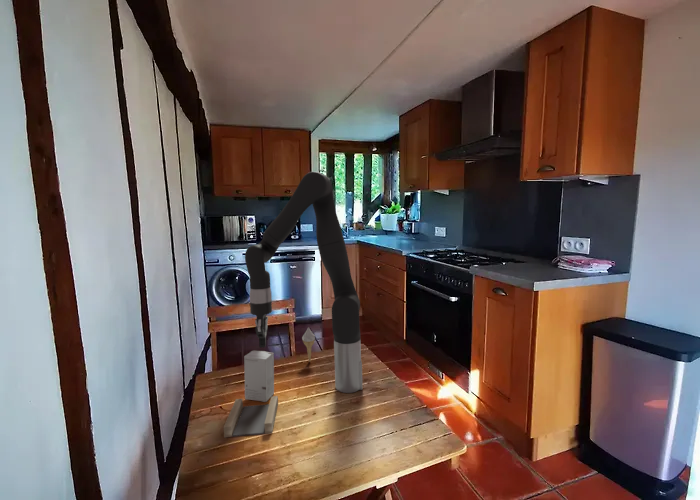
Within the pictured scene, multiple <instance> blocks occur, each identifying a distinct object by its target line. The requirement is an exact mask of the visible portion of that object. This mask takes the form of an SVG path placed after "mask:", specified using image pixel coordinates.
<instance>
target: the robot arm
mask: <svg viewBox="0 0 700 500" xmlns="http://www.w3.org/2000/svg"><path fill="white" fill-rule="evenodd" d="M333 191H334V190H333V185H332V181H331V180H330V178H329V177H328V176H327V175H325V174H323V173H321V172H319V171H310V172H309V171H308V173H306V174H305V175H304V176H303V177H302V178H301V180H300V181H299V184H298V185H297V187H296V188H295V191H294V192H293V194H292V195H291V197H290V199H289V201H287V203H286V205H284V207H283V209H281V211H280V213H279V214H278V215H277V216H276V217H275V218H274V219H273V220H272V222H271V223H270V224H269V226H268V227H267V228H266V229H265V230H264V232H263V236H262V237H263V238H262V240H261V241H260V242H259V243H257V244H253V245H250V246H248V247H247V249H246V250H245V253H244V262H245V265H246V270H247V272H248V276H249V308H250V309H249V311H250V314H251V315H253V316H256V318H255V319H254V320H255V321H254V322H255V328H254V330H255V333H256V337H257V338H258V345H259V348H261V349H263V348H266V345H267V333H268V321H269V316H267V315H269V314H272V312H273V303H272V302H273V300H272V299H273V298H272V297H273V296H272V289H271V276H270V272H269V271H267V270H266V266H265V265H266V264H267V262H269V261H270V260H271V259H272V258H273V257H274V255H275V254H276V252H277V250H279V247H280V246H281V244H282V243H284V241H286V239H287V238H288V237H289V235H290V234H291V233H292V232H293V230H294V228H295V227H296V225H297V223H298V222H299V220H300V218H301V216H302V215H303V214H304V213H305V211H306V210H307V209H309V207H310V206H312V208H313V210H314V214H315V220H316V221H315V223H316V224H315V225H316V229H315V230H316V231H315V234H316V236H315V237H316V242H317V244H316V245H317V248H318V252H319V255H320V256H319V257H320V259H321V262H322V265H323V266H324V269H325V271H326V273H327V275H328V276H329V279H330V282H331V286H332V290H333V297H334V301H333V302H332V306H331V322H332V323H331V326H332V327H331V328H332V334H333V351H334V352H333V353H334V355H333V356H334V383H335V384H334V385H335V390H336V391H338V392H341V393H344V394H346V393H347V394H351V393H352V394H353V393H356V392H357V391H362V390H363V387H364V386H363V363H362V352H361V351H362V350H361V349H362V348H361V344H362V343H361V342H362V341H361V328H360V327H361V325H360V310H361V309H360V308H361V301H360V298H359V295H358V292H357V290H356V287H355V285H354V282H353V278H352V274H351V268H350V262H349V261H350V259H349V255H348V251H347V246H346V242H345V237H344V235H343V232H342V231H343V230H342V227H341V224H340V221H339V218H338V215H337V211H336V207H335V200H334V192H333Z"/></svg>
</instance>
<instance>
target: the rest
mask: <svg viewBox="0 0 700 500" xmlns="http://www.w3.org/2000/svg"><path fill="white" fill-rule="evenodd" d="M243 401H244V400H243V398H235V400H234V402H233V405H232V407H231V409H230V412H229V413H228V416H227V419H226V421H225V423H224V425H223V435H224V436H223V437H224V438H231V437H242V436H243V437H245V436H255V435H265V434H266V435H268V434H273V432H274V428H275V421H276V417H277V413H278V407H279V399H278V395H272V396H271V397H270V400H269V404H268V403H267V404H257V405H246V406H245V405H244V403H243Z"/></svg>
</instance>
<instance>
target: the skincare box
mask: <svg viewBox="0 0 700 500" xmlns="http://www.w3.org/2000/svg"><path fill="white" fill-rule="evenodd" d="M274 355H275V353H274V352H269V351H265V350H251V351H249V353H247V354H245V355H244V357H243V358H244V361H243V362H244V365H243V366H244V399H245V400H249V401H251V400H252V401H258V402H263V403H266V402H268V401H269V399H271V396H274V394H275V364H274V363H275V358H274V357H275V356H274Z"/></svg>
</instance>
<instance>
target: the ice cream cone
mask: <svg viewBox="0 0 700 500" xmlns="http://www.w3.org/2000/svg"><path fill="white" fill-rule="evenodd" d="M301 339H302V343H303V345H304V346H305V347H306V351H307V357H308V362H309V363H310V362H311V361H312V359H311V358H312V348H313V345H314V344H315V341H316V335H315V334H314V332H313V331H311V329H310V327H309V326H308V327H307V329H306V331H305V332H304V334H303V335H302V337H301Z"/></svg>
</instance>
